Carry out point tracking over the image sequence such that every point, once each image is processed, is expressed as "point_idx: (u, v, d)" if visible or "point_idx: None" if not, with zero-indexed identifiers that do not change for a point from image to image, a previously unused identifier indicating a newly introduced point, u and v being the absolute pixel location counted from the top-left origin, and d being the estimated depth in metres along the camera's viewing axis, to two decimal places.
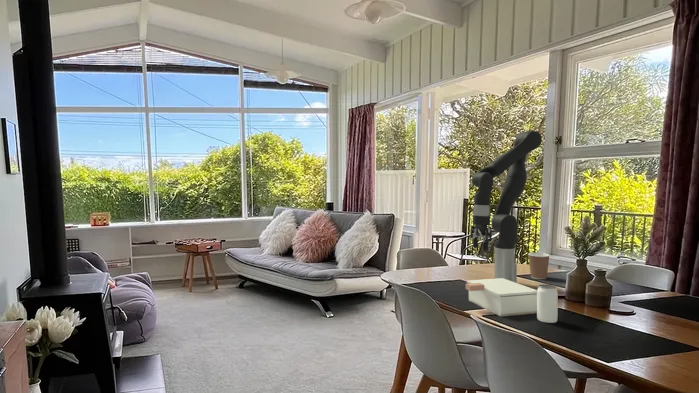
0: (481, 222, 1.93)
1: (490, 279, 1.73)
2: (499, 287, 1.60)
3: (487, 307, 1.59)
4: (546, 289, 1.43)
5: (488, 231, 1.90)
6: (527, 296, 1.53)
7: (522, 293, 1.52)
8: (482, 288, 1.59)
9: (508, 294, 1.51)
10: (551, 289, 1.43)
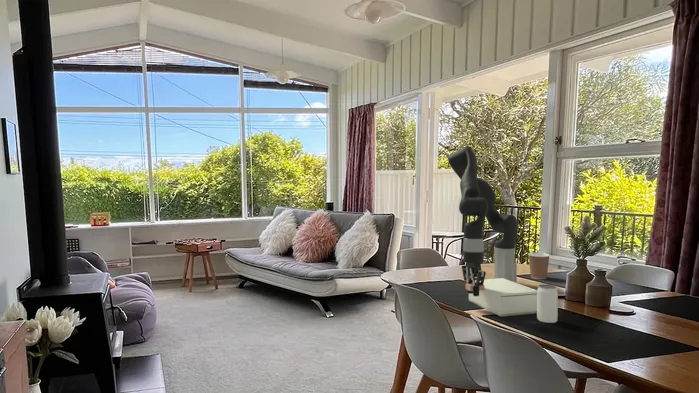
0: (473, 260, 1.56)
1: (490, 279, 1.73)
2: (499, 287, 1.60)
3: (487, 307, 1.59)
4: (546, 289, 1.43)
5: (481, 276, 1.53)
6: (527, 296, 1.53)
7: (522, 293, 1.52)
8: (482, 288, 1.59)
9: (508, 294, 1.51)
10: (551, 289, 1.43)
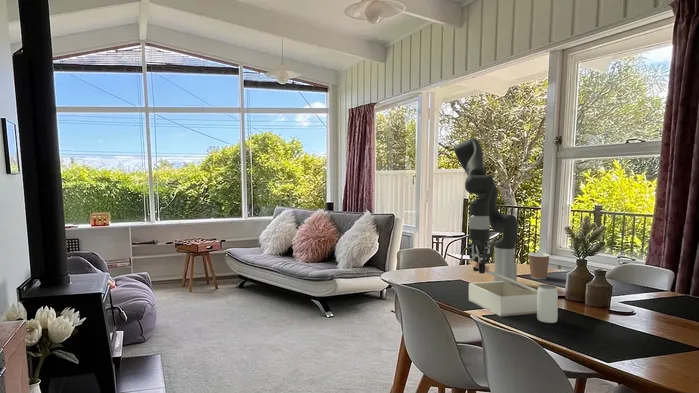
0: (479, 237, 1.56)
1: None
2: None
3: (487, 307, 1.59)
4: (546, 289, 1.43)
5: (487, 252, 1.54)
6: (527, 296, 1.53)
7: (524, 285, 1.52)
8: (486, 270, 1.59)
9: (511, 280, 1.51)
10: (551, 289, 1.43)
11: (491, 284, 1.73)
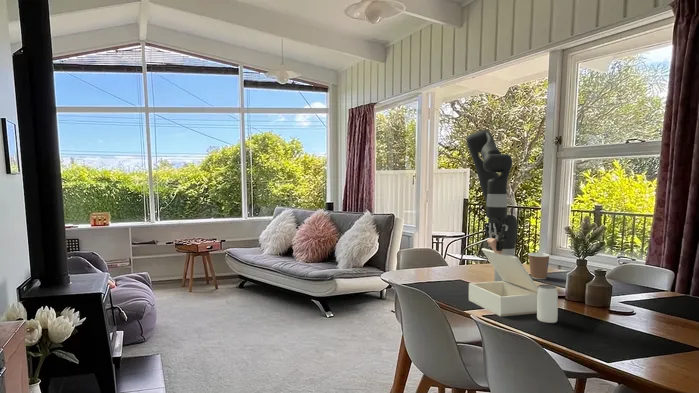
0: (497, 214, 1.58)
1: None
2: None
3: (487, 307, 1.59)
4: (546, 289, 1.43)
5: (505, 229, 1.55)
6: (527, 296, 1.53)
7: (530, 277, 1.53)
8: (500, 251, 1.60)
9: (521, 265, 1.52)
10: (551, 289, 1.43)
11: (491, 284, 1.73)
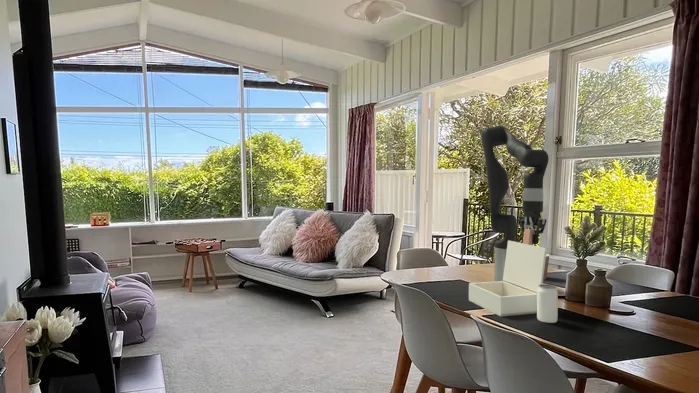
0: (534, 208, 1.62)
1: None
2: None
3: (487, 307, 1.59)
4: (546, 289, 1.43)
5: (542, 223, 1.59)
6: (527, 296, 1.53)
7: (542, 274, 1.54)
8: (530, 242, 1.64)
9: (544, 258, 1.54)
10: (551, 289, 1.43)
11: (491, 284, 1.73)
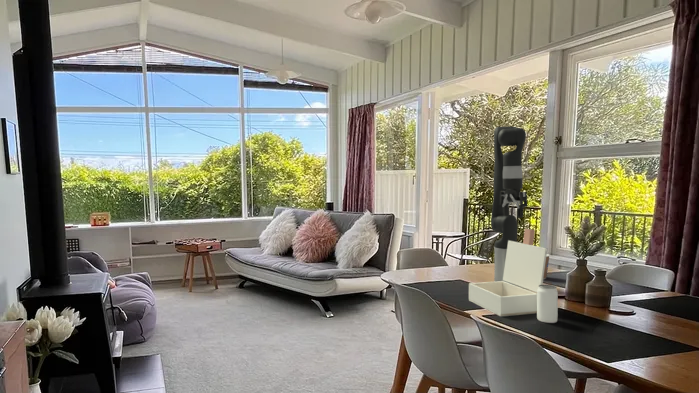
0: (514, 185, 1.68)
1: None
2: None
3: (487, 307, 1.59)
4: (546, 289, 1.43)
5: (523, 195, 1.65)
6: (527, 296, 1.53)
7: (542, 274, 1.54)
8: (530, 242, 1.64)
9: (545, 258, 1.54)
10: (551, 289, 1.43)
11: (491, 284, 1.73)
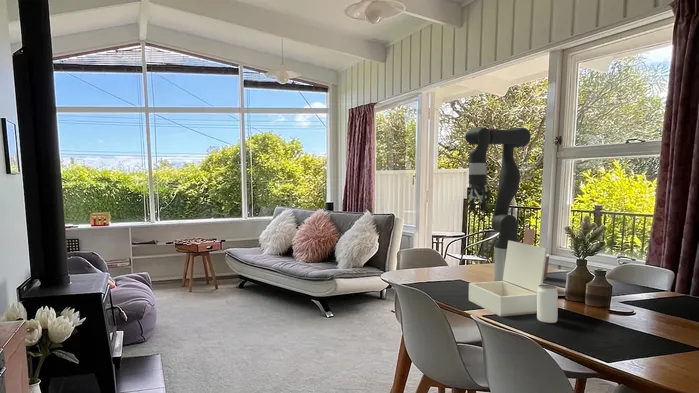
0: (478, 181, 1.79)
1: None
2: None
3: (487, 307, 1.59)
4: (546, 289, 1.43)
5: (485, 190, 1.76)
6: (527, 296, 1.53)
7: (542, 274, 1.54)
8: (530, 242, 1.64)
9: (545, 258, 1.54)
10: (551, 289, 1.43)
11: (491, 284, 1.73)
